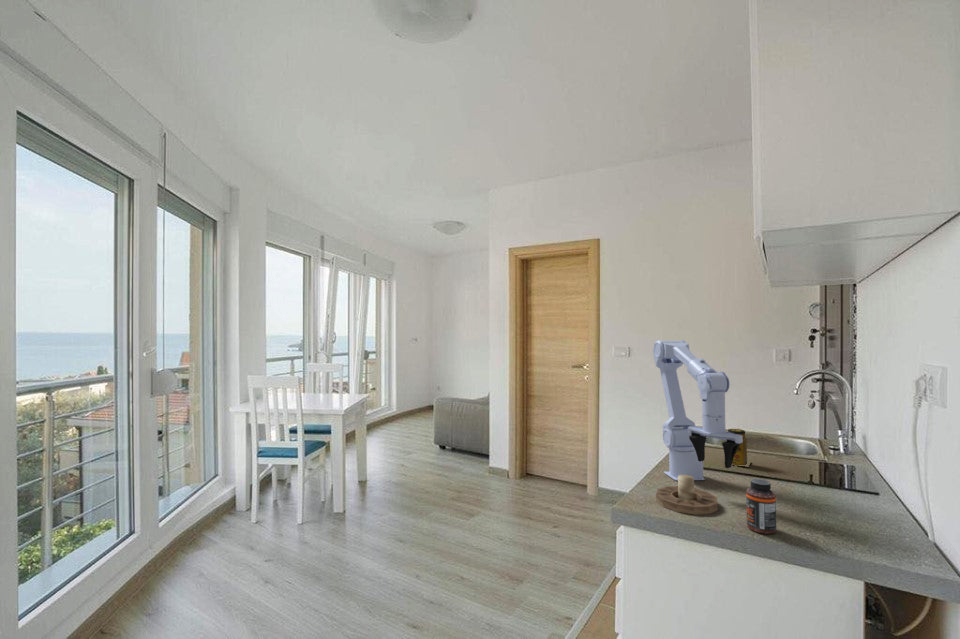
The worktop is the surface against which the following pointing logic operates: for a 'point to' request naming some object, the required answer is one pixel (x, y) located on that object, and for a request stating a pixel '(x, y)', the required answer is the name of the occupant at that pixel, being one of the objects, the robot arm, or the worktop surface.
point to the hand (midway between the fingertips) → (714, 464)
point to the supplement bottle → (761, 507)
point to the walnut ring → (687, 501)
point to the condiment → (740, 448)
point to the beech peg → (686, 487)
